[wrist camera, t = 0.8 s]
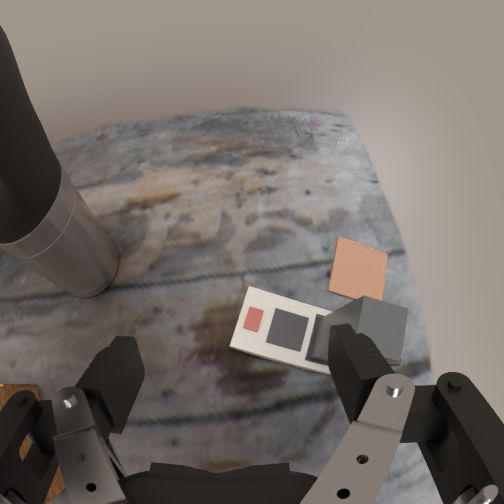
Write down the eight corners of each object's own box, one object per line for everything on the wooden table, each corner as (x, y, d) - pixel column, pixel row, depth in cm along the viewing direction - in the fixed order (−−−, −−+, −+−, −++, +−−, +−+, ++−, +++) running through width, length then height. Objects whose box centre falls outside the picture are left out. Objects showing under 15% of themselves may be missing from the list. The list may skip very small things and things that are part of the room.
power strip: (228, 347, 33) (230, 345, 30) (246, 292, 36) (249, 284, 32) (390, 386, 33) (405, 387, 29) (400, 337, 35) (415, 333, 32)
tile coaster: (326, 291, 37) (328, 290, 36) (337, 237, 40) (338, 236, 40) (379, 307, 37) (381, 306, 36) (385, 255, 40) (387, 254, 39)
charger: (307, 357, 31) (353, 350, 20) (317, 319, 33) (364, 294, 22) (342, 365, 31) (399, 360, 20) (350, 328, 33) (408, 307, 22)
